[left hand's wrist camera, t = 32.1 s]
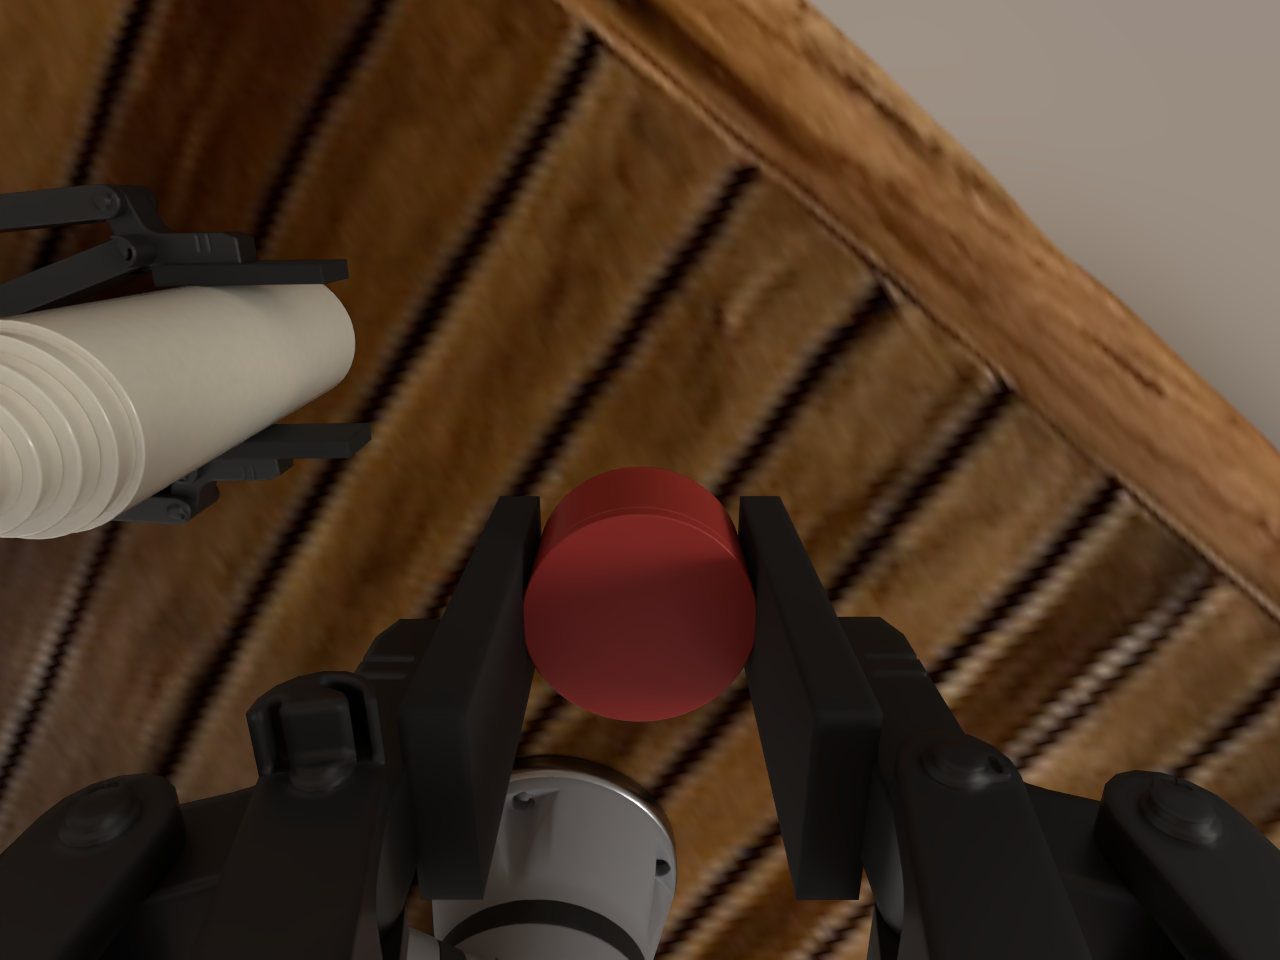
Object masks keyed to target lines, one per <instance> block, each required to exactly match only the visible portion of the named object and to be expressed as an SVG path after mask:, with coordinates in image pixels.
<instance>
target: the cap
mask: <svg viewBox="0 0 1280 960" xmlns="http://www.w3.org/2000/svg"><path fill="white" fill-rule="evenodd" d="M523 609H524V626H525V641H526V647H527V650H528V653H529V655H530V657H531V659H532V661H533V663H534V665H535V666H536V668H537V669H538V671H539V673H540V674H541V675H542V677H543V678H544V679H545V680H546V681H547V682H548V684H549V685H550V686H551V687H552V688H554V689H555V690H556V691H557V692H558V693H559V694H560V695H562V696H563V697H564V698H566V699H567V700H569V701H570V702H571V703H573V704H575V705H577V706H579V707H581V708H583V709H584V710H587V711H589V712H592V713H594V714H597V715H600V716H604V717H608V718H611V719H617V720H624V721H639V722H642V721H656V720H662V719H668V718H672V717H676V716H679V715H682V714H685V713H688V712H690V711H692V710H695V709H697V708H699V707H701V706H703V705H704V704H706V703H708V702H710V701H711V700H712V699H714V698H715V697H716V696H718V695H719V694H721V693H722V692H723V691H724V690H725V689H726V688H727V687H728V686H729V685H730V684H731V683H732V682H733V681H734V679H735V678H736V677H737V676H738V675H739V673H740V672H741V670H742V669H743V667H744V665H745V664H746V662H747V660H748V658H749V656H750V653H751V651H752V649H753V646H754V635H755V618H756V596H755V592H754V589H753V585H752V582H751V578H750V575H749V572H748V568H747V565H746V561H745V558H744V555H743V551H742V548H741V545H740V541H739V538H738V535H737V532H736V529H735V526H734V524H733V522H732V520H731V518H730V516H729V514H728V513H727V511H726V510H725V509H724V507H723V506H722V504H721V503H720V502H719V501H718V500H717V499H716V498H715V497H714V496H713V495H712V494H711V493H710V492H709V491H707V490H706V489H705V488H704V487H702V486H701V485H699V484H698V483H696V482H694V481H693V480H691V479H689V478H687V477H685V476H682V475H680V474H677V473H674V472H671V471H668V470H663V469H658V468H651V467H629V468H622V469H616V470H611V471H608V472H605V473H602V474H599V475H597V476H595V477H593V478H591V479H589V480H587V481H585V482H583V483H582V484H580V485H579V486H577V487H576V488H574V489H573V490H572V491H571V492H570V493H569V494H567V495H566V496H565V497H564V498H563V499H562V501H561V502H560V503H559V504H558V505H557V506H556V508H555V509H554V511H553V512H552V514H551V515H550V517H549V519H548V521H547V523H546V525H545V527H544V530H543V534H542V537H541V540H540V543H539V547H538V550H537V553H536V557H535V560H534V563H533V567H532V570H531V574H530V577H529V580H528V584H527V587H526V590H525V594H524V598H523Z"/></svg>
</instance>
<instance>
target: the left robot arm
mask: <svg viewBox="0 0 1280 960" xmlns="http://www.w3.org/2000/svg"><path fill="white" fill-rule="evenodd" d="M738 538H739V541H740V545H741V548H742V551H743V555H744V558H745V561H746V565H747V568H748V572H749V575H750V578H751V582H752V585H753V589H754V592H755V596H756V618H755V635H754V646H753V649H752V651H751V653H750V656H749V658H748V660H747V662H746V664H745V665H744V668H745V673H746V677H747V682H748V686H749V691H750V695H751V699H752V704H753V708H754V713H755V717H756V722H757V726H758V731H759V735H760V739H761V744H762V748H763V753H764V757H765V762H766V766H767V771H768V775H769V779H770V784H771V788H772V793H773V797H774V802H775V806H776V811H777V815H778V819H779V824H780V828H781V833H782V837H783V842H784V846H785V851H786V855H787V859H788V864H789V868H790V873H791V877H792V882H793V886H794V891H795V895H796V899H797V900H859V894H860V886H861V879H862V871H863V866H864V869H865V872H866V874H867V877H868V880H869V883H870V886H871V889H872V892H873V895H874V898H875V905H874V912H873V919H872V926H871V933H870V940H869V947H868V954H867V960H1280V850H1279V849H1278V848H1277V847H1276V846H1274V845H1273V844H1272V843H1271V842H1270V841H1269V840H1268V839H1267V838H1266V837H1265V836H1264V835H1263V834H1262V833H1261V832H1260V831H1259V830H1258V829H1257V828H1256V827H1255V826H1254V825H1252V824H1251V823H1250V822H1249V821H1248V820H1247V819H1246V818H1245V817H1244V816H1243V815H1242V814H1241V813H1240V812H1238V811H1237V810H1236V809H1234V808H1233V807H1232V806H1230V805H1229V804H1228V803H1227V802H1225V801H1224V800H1223V799H1221V798H1220V797H1219V796H1217V795H1215V794H1213V793H1212V792H1210V791H1208V790H1206V789H1204V788H1202V787H1200V786H1198V785H1196V784H1194V783H1192V782H1190V781H1187V780H1183V779H1181V778H1178V777H1174V776H1170V775H1167V774H1164V773H1160V772H1150V771H1140V770H1134V771H1129V772H1124V773H1119V774H1116V775H1115V776H1113V777H1112V778H1111V779H1110V780H1109V781H1108V782H1107V783H1106V784H1105V787H1104V791H1103V794H1102V798H1101V801H1097V800H1093V799H1088V798H1084V797H1079V796H1075V795H1070V794H1066V793H1061V792H1057V791H1052V790H1048V789H1045V788H1041V787H1038V786H1034V785H1031V784H1028V783H1025V782H1023V780H1022V777H1021V775H1020V774H1019V772H1018V771H1017V769H1016V768H1015V766H1014V765H1013V763H1012V762H1011V760H1010V759H1009V758H1007V757H1006V756H1005V755H1004V754H1002V753H1001V752H1000V751H999V750H997V749H996V748H995V747H993V746H992V745H990V744H988V743H986V742H984V741H982V740H979V739H977V738H975V737H973V736H971V735H968V734H964V732H963V730H962V729H961V727H960V726H959V724H958V722H957V721H956V719H955V717H954V716H953V714H952V713H951V711H950V709H949V708H948V706H947V704H946V703H945V701H944V699H943V698H942V696H941V695H940V693H939V691H938V690H937V688H936V686H935V685H934V683H933V682H932V680H931V678H930V677H927V672H926V670H925V668H924V667H923V665H922V664H921V662H920V660H919V659H917V658H916V654H915V652H914V651H913V649H912V647H911V646H910V644H909V642H908V641H907V639H906V637H905V636H904V634H902V633H901V632H900V631H898V630H897V629H895V628H894V627H893V626H891V625H890V624H889V623H887V622H886V621H885V620H883V619H882V618H880V617H837V615H836V613H835V611H834V609H833V607H832V605H831V603H830V601H829V599H828V597H827V594H826V592H825V590H824V588H823V586H822V584H821V582H820V580H819V578H818V576H817V574H816V571H815V569H814V567H813V565H812V563H811V561H810V559H809V557H808V555H807V553H806V551H805V548H804V546H803V544H802V542H801V540H800V538H799V536H798V534H797V532H796V530H795V527H794V525H793V523H792V521H791V519H790V517H789V515H788V513H787V511H786V509H785V507H784V504H783V502H782V500H781V498H780V496H740V506H739V527H738ZM540 540H541V516H540V496H500V497H499V499H498V501H497V503H496V506H495V508H494V510H493V512H492V514H491V516H490V518H489V520H488V522H487V524H486V526H485V529H484V531H483V533H482V535H481V537H480V539H479V541H478V543H477V545H476V547H475V549H474V552H473V554H472V556H471V558H470V560H469V562H468V564H467V566H466V568H465V570H464V572H463V575H462V577H461V579H460V581H459V583H458V585H457V587H456V589H455V591H454V593H453V596H452V598H451V600H450V602H449V604H448V606H447V608H446V610H445V612H444V614H443V616H442V619H400V620H398V621H397V622H396V623H394V624H393V625H392V626H390V627H389V628H388V629H386V630H385V631H384V632H382V633H381V634H380V635H378V636H377V637H376V638H375V640H374V641H373V643H372V645H371V646H370V648H369V649H368V651H367V653H366V654H365V656H364V658H363V662H361V663H360V664H359V666H358V668H357V669H356V671H355V672H354V673H351V672H347V671H322V672H318V673H313V674H308V675H303V676H299V677H296V678H294V679H291V680H289V681H287V682H284V683H282V684H279V685H277V686H275V687H274V688H272V689H271V690H269V691H268V692H266V693H265V694H264V695H262V696H261V697H259V698H258V699H257V700H256V701H255V702H254V704H253V705H252V706H251V708H250V709H249V710H248V711H247V713H246V717H247V722H248V727H249V731H250V736H251V741H252V745H253V750H254V755H255V759H256V764H257V769H258V773H259V778H258V781H257V784H256V785H255V786H252V787H249V788H246V789H242V790H239V791H236V792H232V793H228V794H224V795H219V796H215V797H210V798H206V799H201V800H197V801H193V802H188V803H184V804H179V801H178V797H177V793H176V789H175V787H174V786H173V785H172V784H171V783H170V782H169V781H168V780H166V779H165V778H164V777H160V776H155V775H150V774H145V773H144V774H134V775H123V776H117V777H114V778H111V779H107V780H105V781H101V782H98V783H95V784H92V785H89V786H87V787H85V788H83V789H82V790H80V791H78V792H76V793H74V794H72V795H70V796H68V797H66V798H64V799H62V800H61V801H60V802H58V803H57V804H56V805H55V806H53V807H52V808H51V809H49V810H48V811H47V812H45V813H44V814H43V815H41V816H40V817H39V818H38V819H37V820H36V821H35V822H34V823H33V824H32V825H31V826H30V827H29V828H28V829H27V830H26V831H24V832H23V833H22V834H21V835H20V836H19V837H18V838H17V839H16V840H15V841H14V842H13V843H12V844H11V845H10V846H9V847H8V848H7V849H6V850H5V851H4V852H3V853H2V854H1V855H0V960H653V958H654V955H655V952H656V949H657V946H658V943H659V940H660V937H661V934H662V931H663V928H664V925H665V922H666V919H667V915H668V912H669V909H670V906H671V903H672V900H673V896H674V893H675V889H676V883H677V861H676V846H675V839H674V834H673V831H672V828H671V825H670V822H669V820H668V818H667V816H666V814H665V813H664V811H663V810H662V808H661V806H660V805H659V804H658V803H657V801H656V800H655V799H654V798H653V797H652V796H651V795H650V794H649V793H648V792H647V791H646V790H645V789H644V788H643V787H641V786H640V785H639V784H638V783H636V782H635V781H633V780H632V779H630V778H629V777H627V776H625V775H624V774H622V773H620V772H618V771H616V770H613V769H611V768H609V767H606V766H604V765H601V764H598V763H594V762H591V761H587V760H582V759H576V758H568V757H535V758H529V759H523V760H518V761H514V760H515V755H516V751H517V746H518V742H519V737H520V733H521V728H522V724H523V720H524V715H525V711H526V706H527V702H528V697H529V693H530V688H531V684H532V680H533V675H534V671H535V665H534V663H533V661H532V659H531V657H530V655H529V653H528V650H527V647H526V641H525V626H524V609H523V598H524V594H525V590H526V587H527V584H528V580H529V577H530V574H531V570H532V567H533V563H534V560H535V557H536V553H537V550H538V547H539V543H540ZM416 868H417V875H418V882H419V890H420V897H421V900H432V907H433V921H434V936H435V938H434V937H433V936H430V935H428V934H426V933H423V932H421V931H419V930H417V929H414V928H412V927H410V926H408V919H407V912H406V905H405V901H406V898H407V895H408V892H409V889H410V886H411V883H412V880H413V877H414V874H415V871H416Z"/></svg>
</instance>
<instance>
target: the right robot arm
mask: <svg viewBox="0 0 1280 960" xmlns="http://www.w3.org/2000/svg"><path fill="white" fill-rule="evenodd" d="M157 207H158V204H157V199H156V197H155V195H154V194H153V193H152V192H151V191H150V189H148V188H146V187H144V186H133V185H111V184H108V185H107V184H93V185H84V186H74V187H65V188H55V189H46V190H36V191H27V192H17V193H8V194H0V233H3V232H12V231H22V230H31V229H41V228H51V227H60V226H70V225H79V224H89V223H99V222H107V223H108V225H109V227H110V228H111V230H112V232H113V234H114V235H115V236H110V237H111V239H113V240H110V241H108V242H105V243H103V244H100V245H98V246H95V247H93V248H90V249H88V250H85V251H83V252H80V253H78V254H75V255H73V256H70V257H68V258H65V259H63V260H60V261H58V262H55V263H53V264H50V265H48V266H45V267H43V268H40V269H38V270H35V271H33V272H30V273H28V274H25V275H23V276H20V277H18V278H15V279H13V280H10V281H7V282H5V283H2V284H0V318H2V317H8V316H13V315H19V314H25V313H31V312H37V311H42V310H48V309H54V308H60V307H63V306H66V305H68V304H71V303H73V302H76V301H78V300H81V299H84V298H86V297H89V296H91V295H94V294H96V293H99V292H101V291H104V290H107V289H109V288H112V287H114V286H117V285H119V284H122V283H125V282H127V281H130V280H132V279H135V278H137V277H140V276H142V275H145V274H148V273H150V272H152V276H153V281H154V285H155V287H161V286H230V285H298V284H326V283H330V282H335V281H339V280H343V279H347V278H349V274H348V267H347V260H346V259H334V260H266V261H258V259H257V254H256V248H255V243H254V237H253V236H250V235H247V234H245V233H242V232H192V233H181V232H176V231H173V230H171V229H170V228H168V227H167V226H166V225H165V224H164V223H163V222H162V220H161V219H160V217H159V215H158V213H157V212H156V210H157ZM370 440H371V432H370V425H369V423H334V424H272V425H271V426H269V427H267V428H265V429H264V430H262V431H260V432H259V433H257V434H255V435H254V436H252V437H250V438H249V439H247V440H245V441H244V442H242V443H240V444H238V445H237V446H235V447H233V448H232V449H230V450H228V451H227V452H225V453H223V454H222V455H220V456H218V457H217V458H215V459H213V460H211V461H210V462H208V463H206V464H205V465H203V466H201V467H200V468H198V469H196V470H195V471H193V472H191V473H190V474H188V475H186V476H184V477H183V478H181V479H179V480H178V481H176V482H174V483H173V484H171V485H169V486H168V487H166V488H164V489H163V490H161V491H159V492H157V493H156V494H154V495H152V496H151V497H149V498H147V499H146V500H144V501H142V502H141V503H139V504H137V505H136V506H134V507H132V508H130V509H129V510H127V511H125V512H124V513H122V514H120V515H119V516H117V517H115V518H114V519H112V520H115V521H131V522H147V523H163V524H184V523H185V522H187V521H189V520H190V519H191V518H193V517H194V516H196V515H197V514H199V513H200V512H202V511H203V510H205V509H206V508H207V507H209V506H210V505H212V504H213V503H214V502H216V501H217V500H218V498H219V493H220V492H219V490H218V487H217V486H216V483H217V481H243V480H270V479H273V478H275V477H277V476H280V475H281V474H282V473H284V472H285V471H286V470H288V469H289V468H290V467H292V466H293V465H294V464H293V459H302V458H350V457H352V456H353V455H354V454H355V453H356V452H357V451H358V450H360V449H361V448H362V447H363V446H364V445H365V444H367V443H368V442H369V441H370Z"/></svg>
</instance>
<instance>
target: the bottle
mask: <svg viewBox="0 0 1280 960" xmlns="http://www.w3.org/2000/svg"><path fill="white" fill-rule="evenodd" d="M354 352H355V336H354V330H353V326H352V323H351V320H350V317H349V315H348V313H347V311H346V309H345V308H344V306H343V305H342V303H341V302H340V300H339V299H338V298H337V297H336V296H335V295H334V294H333V293H332V292H331V291H330V290H329V289H328V288H327V287H326V286H324V285H323V284H298V285H230V286H182V287H176V288H170V289H164V290H158V291H153V292H147V293H141V294H135V295H129V296H124V297H118V298H112V299H106V300H100V301H95V302H89V303H83V304H77V305H71V306H66V307H60V308H54V309H48V310H42V311H37V312H31V313H25V314H19V315H13V316H8V317H2V318H0V537H4V538H16V537H17V538H24V539H47V538H56V537H60V536H64V535H68V534H70V533H76V532H82V531H86V530H90V529H93V528H96V527H98V526H101V525H103V524H105V523H107V522H108V521H110V520H112V519H114V518H115V517H117V516H119V515H120V514H122V513H124V512H125V511H127V510H129V509H130V508H132V507H134V506H136V505H137V504H139V503H141V502H142V501H144V500H146V499H147V498H149V497H151V496H152V495H154V494H156V493H157V492H159V491H161V490H163V489H164V488H166V487H168V486H169V485H171V484H173V483H174V482H176V481H178V480H179V479H181V478H183V477H184V476H186V475H188V474H190V473H191V472H193V471H195V470H196V469H198V468H200V467H201V466H203V465H205V464H206V463H208V462H210V461H211V460H213V459H215V458H217V457H218V456H220V455H222V454H223V453H225V452H227V451H228V450H230V449H232V448H233V447H235V446H237V445H238V444H240V443H242V442H244V441H245V440H247V439H249V438H250V437H252V436H254V435H255V434H257V433H259V432H260V431H262V430H264V429H265V428H267V427H269V426H271V425H272V424H274V423H276V422H277V421H279V420H281V419H282V418H284V417H286V416H287V415H289V414H291V413H292V412H294V411H296V410H298V409H299V408H301V407H303V406H304V405H306V404H308V403H309V402H311V401H313V400H314V399H316V398H318V397H319V396H321V395H323V394H325V393H326V392H328V391H330V390H331V389H333V388H334V387H335V386H337V385H338V384H339V383H340V382H341V381H342V380H343V379H344V377H345V376H346V374H347V373H348V371H349V369H350V367H351V364H352V361H353V358H354Z"/></svg>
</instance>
